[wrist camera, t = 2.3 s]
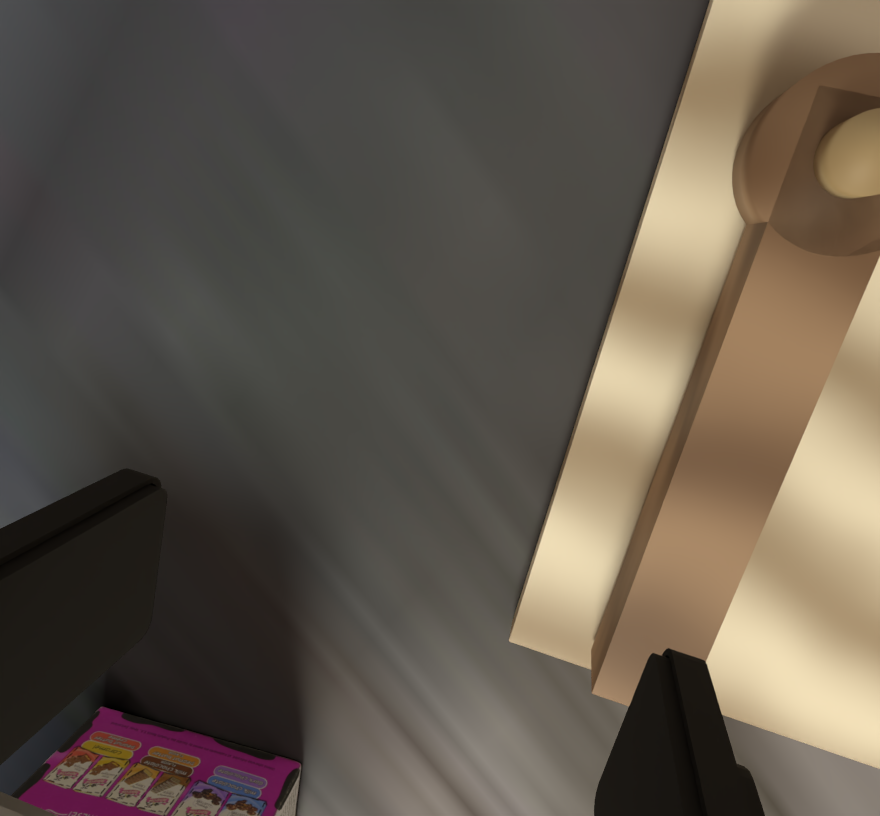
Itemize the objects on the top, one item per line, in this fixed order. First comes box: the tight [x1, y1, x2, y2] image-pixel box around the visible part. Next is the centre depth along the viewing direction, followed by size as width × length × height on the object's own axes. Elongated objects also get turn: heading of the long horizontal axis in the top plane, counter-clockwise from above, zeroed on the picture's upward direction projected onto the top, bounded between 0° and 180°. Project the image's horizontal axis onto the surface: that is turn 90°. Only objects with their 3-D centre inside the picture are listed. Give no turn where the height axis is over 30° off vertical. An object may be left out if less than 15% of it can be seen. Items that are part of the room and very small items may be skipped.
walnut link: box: [591, 53, 880, 706], centre depth 20 cm, size 20×5×4 cm, turn 166°
